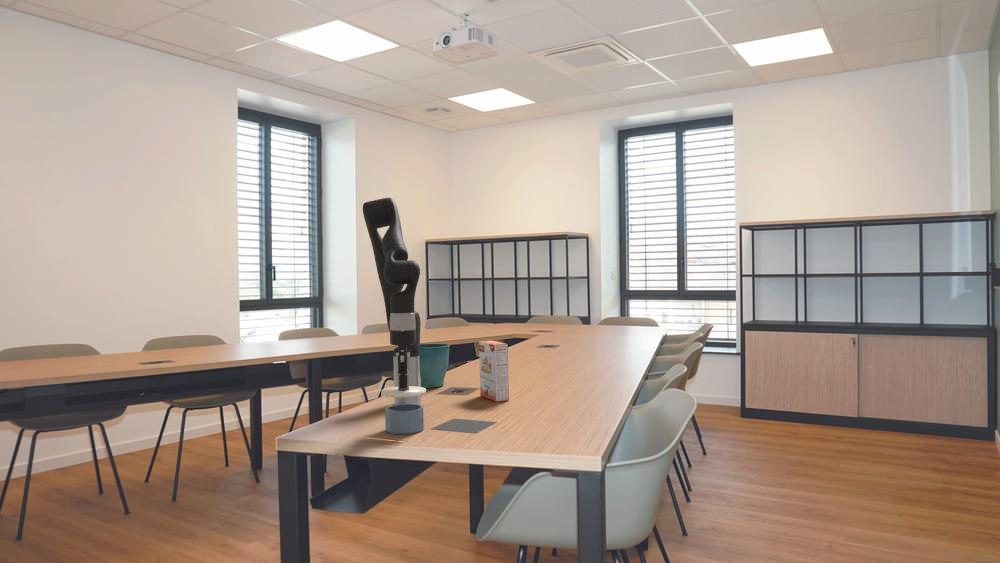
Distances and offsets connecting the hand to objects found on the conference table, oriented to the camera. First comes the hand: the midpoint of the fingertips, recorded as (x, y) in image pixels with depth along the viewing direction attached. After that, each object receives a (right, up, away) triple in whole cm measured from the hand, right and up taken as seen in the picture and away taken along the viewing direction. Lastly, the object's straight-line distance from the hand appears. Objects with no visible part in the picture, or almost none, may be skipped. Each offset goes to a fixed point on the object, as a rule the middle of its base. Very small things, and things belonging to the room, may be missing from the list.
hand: (403, 386), depth 189 cm
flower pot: (-1, -13, +78) cm, 79 cm away
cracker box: (+26, -13, +49) cm, 57 cm away
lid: (0, -2, 0) cm, 2 cm away
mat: (+18, -13, +5) cm, 22 cm away
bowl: (0, -13, 0) cm, 13 cm away
